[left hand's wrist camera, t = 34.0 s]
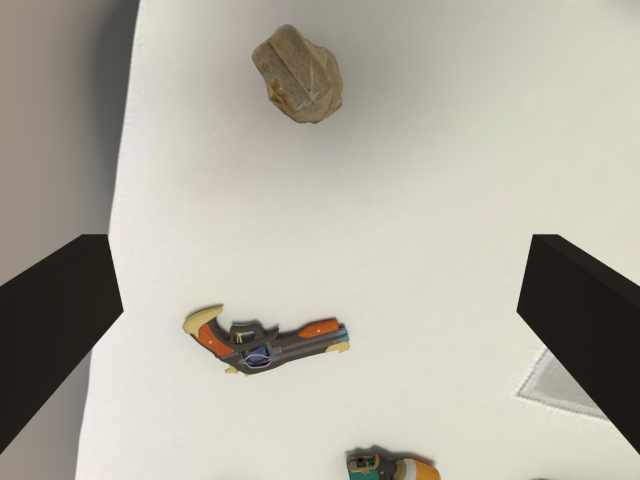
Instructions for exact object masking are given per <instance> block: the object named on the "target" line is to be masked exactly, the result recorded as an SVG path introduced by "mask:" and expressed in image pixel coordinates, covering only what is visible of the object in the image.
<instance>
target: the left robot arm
mask: <svg viewBox="0 0 640 480" xmlns="http://www.w3.org/2000/svg"><path fill="white" fill-rule="evenodd" d="M123 312H124V311H123V306H122V301H121V297H120V292H119V287H118V283H117V278H116V273H115V269H114V264H113V260H112V255H111V250H110V246H109V241H108V236H107V234H82V235H81V236H79V237H77V238H76V239H74V240H73V241H71V242H69V243H68V244H66V245H65V246H63V247H62V248H60V249H58V250H57V251H55V252H54V253H52V254H51V255H49V256H47V257H46V258H44V259H43V260H41V261H40V262H38V263H36V264H35V265H33V266H32V267H30V268H28V269H27V270H25V271H24V272H22V273H21V274H19V275H17V276H16V277H14V278H13V279H11V280H10V281H8V282H6V283H5V284H3V285H2V286H0V454H1V453H2V452H3V451H4V450H5V449H6V447H7V446H8V445H9V444H10V443H11V442H12V440H13V439H14V438H15V437H16V436H17V435H18V434H19V432H20V431H21V430H22V429H23V428H24V427H25V425H26V424H27V423H28V422H29V421H30V420H31V418H32V417H33V416H34V415H35V414H36V413H37V411H38V410H39V409H40V408H41V407H42V406H43V404H44V403H45V402H46V401H47V400H48V399H49V398H50V396H51V395H52V394H53V393H54V392H55V391H56V389H57V388H58V387H59V386H60V385H61V384H62V382H63V381H64V380H65V379H66V378H67V377H68V375H69V374H70V373H71V372H72V371H73V370H74V368H75V367H76V366H77V365H78V364H79V363H80V362H81V360H82V359H83V358H84V357H85V356H86V355H87V353H88V352H89V351H90V350H91V349H92V348H93V346H94V345H95V344H96V343H97V342H98V341H99V339H100V338H101V337H102V336H103V335H104V334H105V333H106V331H107V330H108V329H109V328H110V327H111V326H112V324H113V323H114V322H115V321H116V320H117V319H118V317H119V316H120V315H121V314H122V313H123ZM516 312H517V313H518V314H519V315H520V316H521V317H522V319H523V320H524V321H525V322H526V323H527V324H528V326H529V327H530V328H531V329H532V330H533V331H534V333H535V334H536V335H537V336H538V337H539V338H540V339H541V341H542V342H543V343H544V344H545V345H546V346H547V348H548V349H549V350H550V351H551V352H552V353H553V355H554V356H555V357H556V358H557V359H558V360H559V362H560V363H561V364H562V365H563V366H564V367H565V369H566V370H567V371H568V372H569V373H570V374H571V375H572V377H573V378H574V379H575V380H576V381H577V382H578V384H579V385H580V386H581V387H582V388H583V389H584V391H585V392H586V393H587V394H588V395H589V396H590V398H591V399H592V400H593V401H594V402H595V403H596V405H597V406H598V407H599V408H600V409H601V410H602V411H603V413H604V414H605V415H606V416H607V417H608V418H609V420H610V421H611V422H612V423H613V424H614V425H615V427H616V428H617V429H618V430H619V431H620V432H621V434H622V435H623V436H624V437H625V438H626V439H627V440H628V442H629V443H630V444H631V445H632V446H633V447H634V449H635V450H636V451H637V452H638V453H639V454H640V286H638V285H637V284H635V283H634V282H632V281H630V280H629V279H627V278H626V277H624V276H623V275H621V274H619V273H618V272H616V271H615V270H613V269H612V268H610V267H608V266H607V265H605V264H604V263H602V262H601V261H599V260H597V259H596V258H594V257H593V256H591V255H589V254H588V253H586V252H585V251H583V250H582V249H580V248H578V247H577V246H575V245H574V244H572V243H571V242H569V241H567V240H566V239H564V238H563V237H561V236H560V235H558V234H533V236H532V241H531V246H530V250H529V255H528V260H527V264H526V269H525V273H524V278H523V283H522V287H521V292H520V297H519V301H518V306H517V311H516Z"/></svg>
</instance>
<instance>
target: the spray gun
mask: <svg viewBox="0 0 640 480" xmlns="http://www.w3.org/2000/svg"><path fill="white" fill-rule="evenodd" d="M374 457H375V458H374ZM372 458H374V460H371V459H372ZM367 459H368V461H367ZM350 460H356V462H351V463H350V464H349V461H350ZM347 468H348V472H349V477H350V480H393V479H394V480H441V477H440V474H439V472H438V470H437V469H436V468H435V467H432V466H429V465H427V464H424V463H422V462H419V461H416V460H414V459H406V458H405V459H404V460H398V461H396V462H395V463H394V462H392V461H390V460H387V459H385V458H383V457H381V456H378V454H375V453H374V454H373V455H371V456H358V457H349V458H348V459H347ZM392 474H393V479H392V478H391V476H390V475H392Z"/></svg>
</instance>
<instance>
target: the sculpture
mask: <svg viewBox="0 0 640 480" xmlns="http://www.w3.org/2000/svg"><path fill="white" fill-rule="evenodd" d="M252 59H253V62H254V64H255V65H256V67H257V69H258V70H259V72H260V73H261V74H262V76H263V77H264V79H265V82H266V86H267V90H268V97H269V100H270V101H272V103H273V104H274V105H275V106H277V107H278V108H279V109H280V110H281V111H282V112H283V113H284V114H285V115H287V116H289V117H290V118H291V119H293V120H294V121H295V122H297V123H308V122H310V123H312V124H316V123H318V122H320V121H322V120H323V119H325V118H327V117H328V116H330V115H331V114H332V113H334V112H335V111H336V110H338V109H339V108H340V107H341V105H342V100H341V91H342V88H343V82H342V78H341V75H340V72H339V68H338V65H337V62H336V59H335V57H334V55H333V54H332V53H331V52H330V51H328V50H327V49H326V48H324V47H320V48H319V47H317V46H315V45H313V44H312V43H310V42H309V41H308V40H307V39H304V37H303V36H302V35H301V34H300V32H299V31H298V30H296V29H295V28H294V27H293V26H291V25H289V24H288V25H284V26H282V27H280V28H278V29H277V30H276V32H275V33H274V34H273V35H272V36H271V37H270V38H269V39H267V40H266V41H265V42H263V43H262V44H261V45H259V46H258V47H257V48H256V49H255V51H254V52H253V54H252Z"/></svg>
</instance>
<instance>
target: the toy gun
mask: <svg viewBox="0 0 640 480" xmlns="http://www.w3.org/2000/svg"><path fill="white" fill-rule="evenodd" d="M222 310H223V309H222V308H221V307H215V308H211V309H207V310H203V311H200V312H198V313H196V314H194V315H192V316H190V317H189V318H188V319H187V320H186V321H185V323H184V324H183V326H182V327H183V330H184V331H185V333H188V334H190V335H191V336H192V337H193V338H194V339H195V340H196V341H197V342H198V343H199V344H200V345H202V346H203V347H205V348H206V349H207V350H209V351H210V352H212V353H213V354H214V355H215V357H216V358H219V359H220V360H221V361H222V362H225V363H227V364H229V366H230V368H229V369H227V370H225V373H238V371H241V372H243V373H245V376H249V375H252V374H256V373H260V372H264V371H267V370H270V369H274V368H276V367H278V366H280V365H283V364H285V363H287V362H289V361H293V360H297V359H300V358H304V357H308V356H312V355H316V354H320V353H326V352H330V351H334V350H338V349H339V352H340V353H342V352H344V351H346V350H348V349H349V348H350V346H349V342H348V341H349V337H348V333H346V329H345V326H344V327H342V326H338V322H337V320H336V319H332V320H328V321H324V322H320V323H316V324H311V325H308V326H307V327H305V328H304V329H303V330H301V331H300V332H298V333H297V334H294V335H290V336H286V337H277V334H278V331H279V328H277V329H275V330H274V331H272V332H270V333H267V334H264V333H263V330H262V328H261V326H259V325H258V324H252V325H248V326H232V327H231V328H230V334H231V337H230V338H227V337H226V336H225V335H224V334H223V333H222V332H221V331H220V330H219V329H218V327H217V325H216V320H215V317H216V316H217V315H218V314H219V313H221V312H222ZM250 331H254V332H255V337H254V338H251V339H247V340H243V341H242V339H241V335H243V334H244V333H243V332H250ZM236 332H239V333H238V336H239V339H240V341H238V336H237V341H236V340H235V337H234V333H236ZM265 344H266V346H267V347H266V346H265ZM253 348H255V349H254V350H253V351H251V352H250V353H249V354H248V356H247V357H246V355H247V353H248V351H249V350H250V349H253ZM246 350H247V352H246V354H244V351H246ZM270 357H272V358H273V359H272V360H270V361H268V359H269V358H270ZM247 361H248V362H251V363H253V365H252V364H248V362H247ZM258 363H260V364H258Z"/></svg>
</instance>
